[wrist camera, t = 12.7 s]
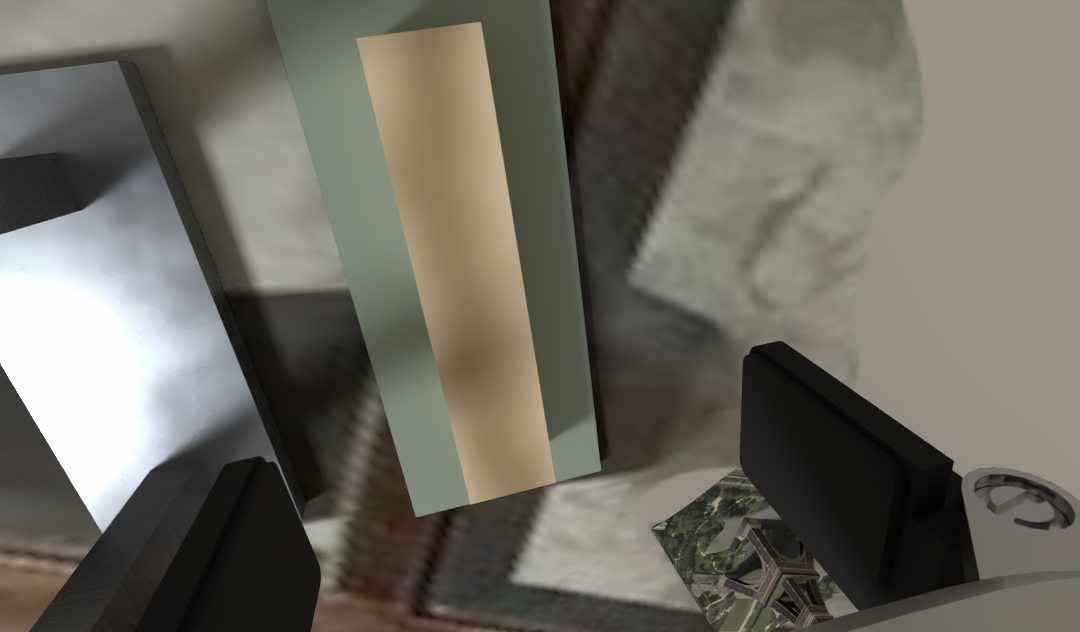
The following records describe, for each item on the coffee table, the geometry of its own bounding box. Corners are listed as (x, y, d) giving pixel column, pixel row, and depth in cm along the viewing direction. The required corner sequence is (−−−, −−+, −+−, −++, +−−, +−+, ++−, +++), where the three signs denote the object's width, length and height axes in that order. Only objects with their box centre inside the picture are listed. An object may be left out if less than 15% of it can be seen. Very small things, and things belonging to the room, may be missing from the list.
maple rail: (472, 33, 20) (481, 21, 17) (542, 445, 27) (555, 482, 25) (365, 48, 19) (356, 38, 17) (465, 464, 27) (470, 504, 24)
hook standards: (135, 63, 19) (-644, -60, 5) (306, 503, 26) (183, 925, 13) (-124, 96, 18) (-2019, 50, 4) (134, 544, 25) (-204, 1056, 12)
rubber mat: (539, -48, 20) (542, -53, 19) (597, 463, 29) (600, 470, 29) (263, -18, 19) (259, -22, 18) (416, 509, 28) (416, 517, 27)
